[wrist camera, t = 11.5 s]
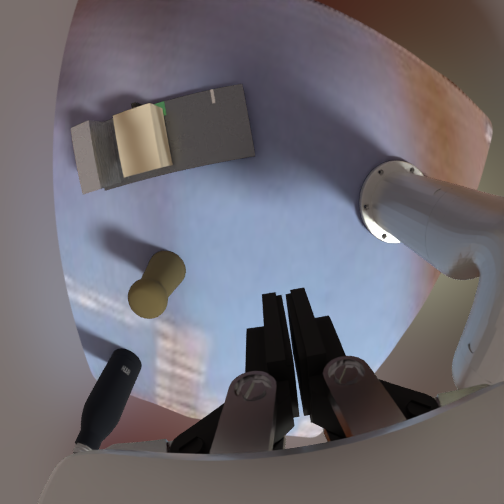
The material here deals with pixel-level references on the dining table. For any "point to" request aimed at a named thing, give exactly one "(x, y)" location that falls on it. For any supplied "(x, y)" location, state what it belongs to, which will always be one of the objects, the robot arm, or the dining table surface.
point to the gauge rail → (170, 138)
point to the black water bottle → (107, 400)
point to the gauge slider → (142, 139)
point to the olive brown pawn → (156, 284)
